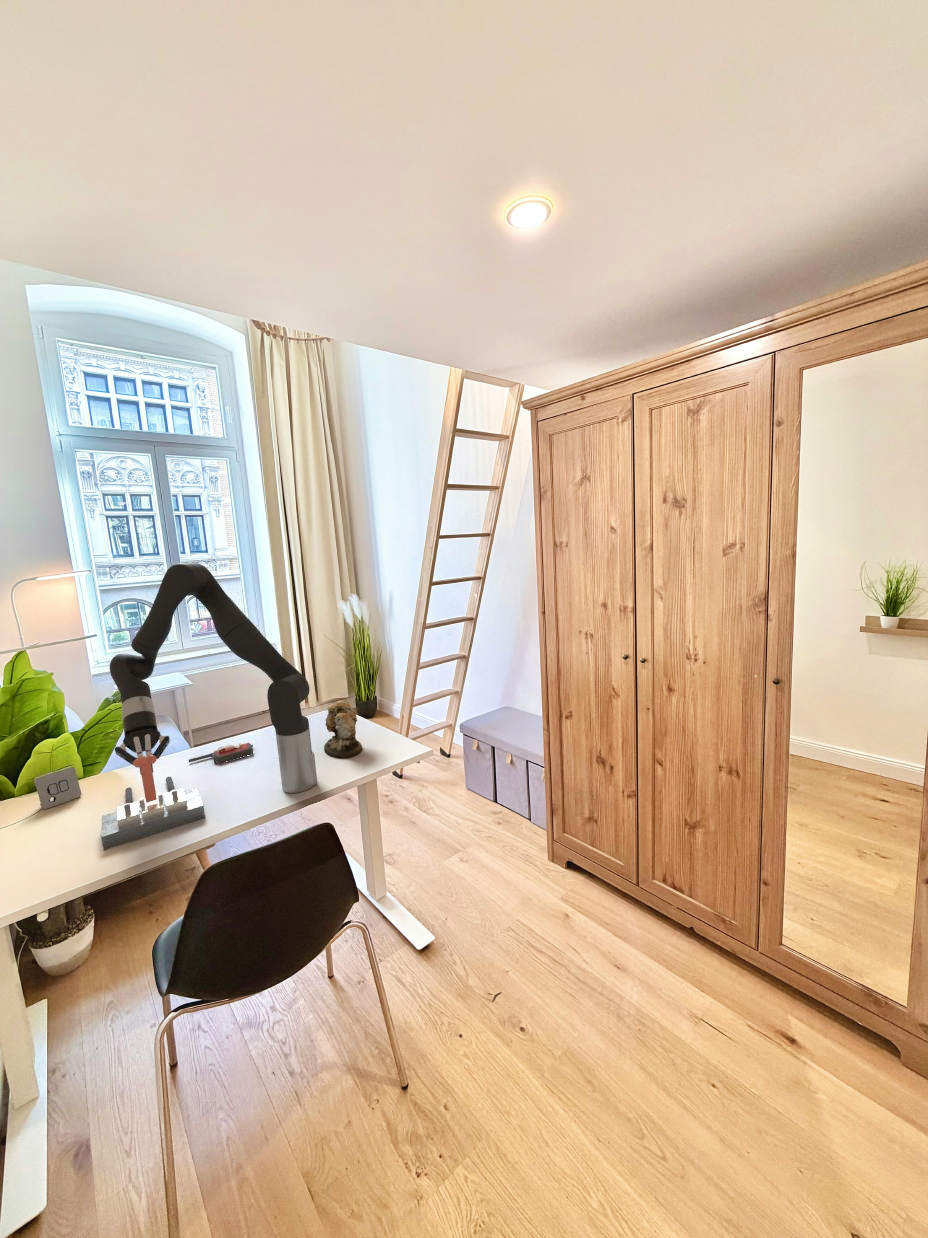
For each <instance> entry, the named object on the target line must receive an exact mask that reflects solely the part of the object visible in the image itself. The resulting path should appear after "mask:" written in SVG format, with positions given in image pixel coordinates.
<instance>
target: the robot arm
mask: <svg viewBox="0 0 928 1238" xmlns="http://www.w3.org/2000/svg"><path fill="white" fill-rule="evenodd" d="M187 596H188V597H189V596H194V598H196V599H197V600H198V601H199V602H200V604H202V605H203V607H204V608H206V610H207V612H208V613H209V615H210V617H211V620H212V623H213V627H214V630H215V632H216V633H217V635H218V637H219V639H220V640H221V641H222V642H223V643H224V644H225V645H226V646H227V648H228V650H230V651H231V652H232V653H233V654H234V655H235V656H237V657H238V658H240V659H241V660H243V661H245V662H246V663H249V664H250V665H253V666H254V667H256V668H258V669H260V670H261V671H262V672H264V673H265V674H266V676H267V677H268V678H269V679H270V680H271V681H272V682H271V683H270V684H269V686H268V689H267V695H266V699H267V705H268V711H269V712H268V713H269V716H270V721H271V724H272V726H273V728H274V729H275V736H276V737H275V738H276V746H277V754H278V763H279V765H278V766H279V770H280V771H279V772H280V773H279V774H280V780H281V787H282V791H283V792H285V793H287V794H295V793H296V794H297V793H302V792H305V791H308V790H309V789H311V788H313V787H314V786H316V785H318V775H317V765H316V756H315V753H314V752H313V750H312V741H311V740H312V739H311V730H310V723H309V721H310V720H309V719H308V717H307V716H305V715H303V714H302V709H301V707H302V706H301V703H302V702H303V701H305V700H306V699H307V698H308V697H309V694H310V690H311V689H310V684H309V682H308V680H307V679H306V677H305V676H304V675H303V674H302V673H301V672H300V671H299V670H298V669H296V667H295V666H293V665H292V664H291V663H290V662H289V661H288V660H287V659H285V657H284V656H283V655H282V654H281V653H280V652H279V651H278V650H277V649H276V648H275V647H274V646H273V645H272V643H271V642H270V641H269V640H268V639H267V638H266V637H265V636H264V635H263V633H262V632H261V630H259V629H258V627H257V626H256V625H255V624H254V623H253V622H252V621H251V619H250V618H248V616H246V615H245V614H244V612H243V611H242V610H241V609H240V608H239V607H238V605H237V604H236V603H235V602H234V601H233V600H232V599H231V598H230V597H229V596H228V594H227V593H226V592H225V590H224V589H223V587H222V586H221V584H219V582H218V581H217V580H216V579H215V576H214V575H213V573H212V572H211V571H210V570H209V569H208V568H207V567H206V566H204V565H203V564H201V563H197V562H178V563H174V564H172V565H170V566H169V567H168V569H167V570H166V571H165V573H164V575H163V578H162V580H161V583H160V585H159V588H158V591H157V593H156V595H155V598H154V601H153V604H152V606H151V608H150V610H149V612H148V615H147V616H146V618H145V620H144V621H143V623H142V625H141V626H140V627H139V630H138V632H137V633H136V634H135V635H134V637H133V639H132V641H131V643H130V644H131V645H130V646H131V648H132V650H133V651H134V652H135V653H137V654H139V655H136V654H129V653H118V654H116V655H114V656H113V657H112V659H111V660H110V662H109V673H110V676H111V679H112V680H113V682H114V684H115V686H116V687H117V690H118V692H119V693H120V700H121V718H122V725H123V733H124V738H123V740H122V743H121V745H119V746H116V747H115V748H114V752H115V754H116V755H117V756H118V757H119V758H122V759H123V760H124V761H126V762H127V763H129V764H131V765H132V766H134V765H133V762H134V760H135V759H137V758H140V757H144V754H143V752H145V756H148V755H154V756H156V760H159V758H161V755H162V754H163V753H164V751H165V749H166V748H167V747H168V745H169V744H170V742H171V739H170V736H169V735H162V734H161V732H160V731H159V730H158V724H157V717H156V711H155V705H154V703H153V701H152V700H153V699H152V693H151V688H150V685H149V683H148V682H146V681H144V680H146V679H148V678H150V677H151V676H152V674H153V672H154V669H155V664H156V659H157V657H158V653H159V651H160V649H161V648H162V646H163V644H164V642H165V641H166V640H167V638H168V636H169V635H170V632H171V629H172V624H173V618H174V614H175V612H176V610H177V608H178V607H179V605H181V603H182V601H184V599H185V598H186V597H187ZM158 741H159V744H158ZM157 744H158V746H157V748H156V749H155V750H154V752H153V751H152V750H153V749H154V748H155V746H156V745H157ZM127 749H128V750H130V751H131V752H133V753H135V754H136V756H137V757H135V756H134V755H132V754H131V753H129V752H128V751H127ZM151 766H152V772H153V773H154V767H153V764H151ZM139 773H140V775H141V770H140V769H139Z"/></svg>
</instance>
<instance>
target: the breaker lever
mask: <svg viewBox="0 0 928 1238" xmlns="http://www.w3.org/2000/svg"><path fill="white" fill-rule="evenodd" d="M136 758H137V759H135V760H134V762H133V765H132V766H134V767H135V768H139V771H140V770H141V774H140V776H141V780H142V786H143V787H142V788H143V791H144V792H143V793H144V799H146V803H148V802H151V801H155V800H157V797H156V796H157V791H156V784H155V779H154V771H153V772H152V766H153V765H154V764H155V763H156V761H157V759H156V756H154V755H148V756H146V755H145V756H144V755H143V757H140V758H138V757H136ZM151 764H152V766H151Z"/></svg>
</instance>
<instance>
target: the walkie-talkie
mask: <svg viewBox="0 0 928 1238" xmlns="http://www.w3.org/2000/svg"><path fill="white" fill-rule="evenodd" d="M253 748H254V746H253V744H251V743H250V742H246V743H241V742H239V743H238V745H234V744H227V745H225V746H224V745H223V746H220V747H218V748H217V749H216V750H213V752H210V753H208V754H204V755H200V756H197V757H192V758H189V759H188V763H192V762H197V761H199V760H205V759H208V758H212V759H213V764H216V763H217V764H218V765H220V764H224V762H225V763H227V762H226V761H228V762H231V761H230V760H232V761H234V760H233V759H235V760H238V759H237V758H239V759H241V758H240V757H242V758H244V757H243V756H246V757H248V756H247V755H250V754H253V755H254V749H253ZM250 756H251V755H250Z"/></svg>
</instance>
